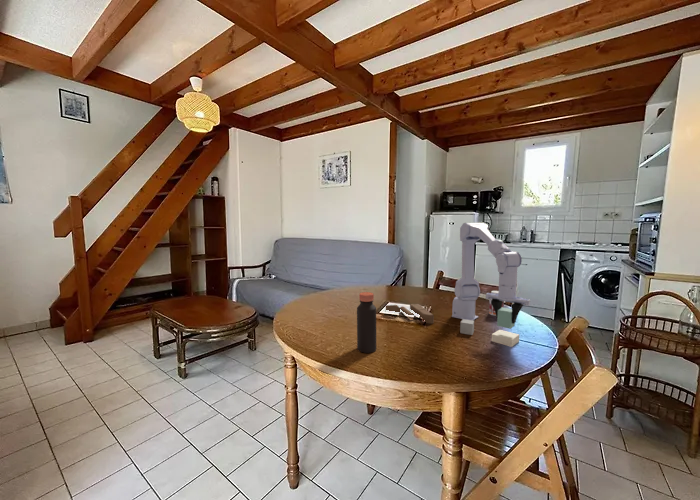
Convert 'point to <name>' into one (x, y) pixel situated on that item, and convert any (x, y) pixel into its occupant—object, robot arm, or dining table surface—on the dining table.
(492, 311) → the pill bottle
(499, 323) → the teal block
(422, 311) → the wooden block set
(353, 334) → the dining table surface
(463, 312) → the robot arm
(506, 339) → the cream slab
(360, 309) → the vinegar
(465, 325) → the grey block
